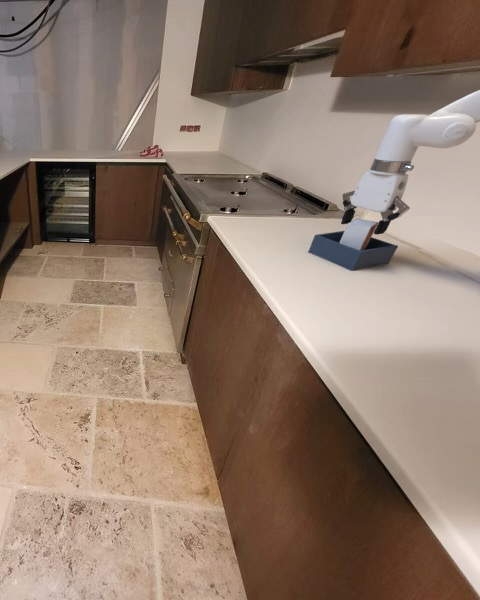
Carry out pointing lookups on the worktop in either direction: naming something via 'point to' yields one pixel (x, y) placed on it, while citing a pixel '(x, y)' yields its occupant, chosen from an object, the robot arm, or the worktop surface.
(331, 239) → the tray
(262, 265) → the worktop surface
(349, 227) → the small box
